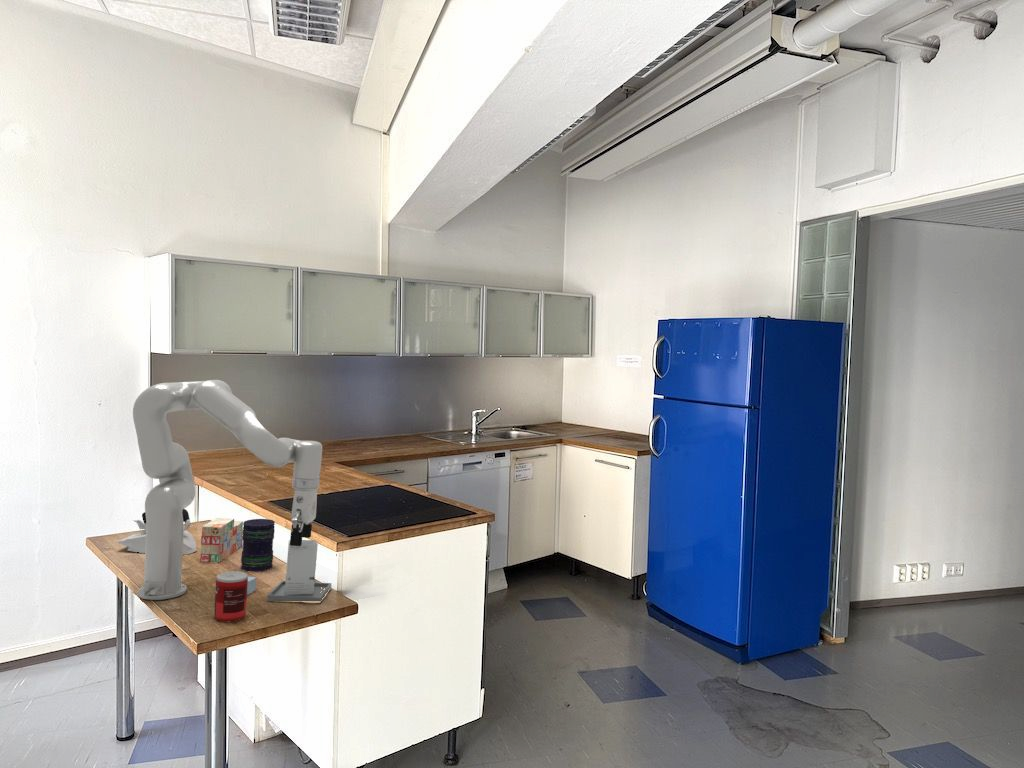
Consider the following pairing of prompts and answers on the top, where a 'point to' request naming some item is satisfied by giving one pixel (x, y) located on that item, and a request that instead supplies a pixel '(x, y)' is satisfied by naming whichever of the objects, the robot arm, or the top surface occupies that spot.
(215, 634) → the top surface
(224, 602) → the canned food
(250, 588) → the blue-grey painted block
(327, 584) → the slate tray
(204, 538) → the stack of blocks
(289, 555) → the skincare box
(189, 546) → the iron
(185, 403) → the robot arm
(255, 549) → the storage jar
